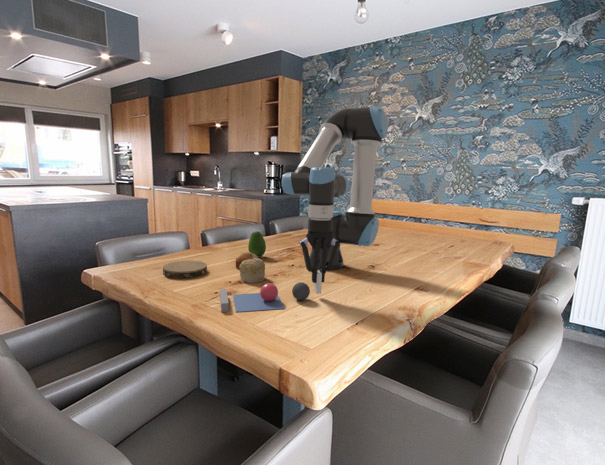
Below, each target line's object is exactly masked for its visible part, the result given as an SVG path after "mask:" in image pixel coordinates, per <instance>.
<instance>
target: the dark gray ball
mask: <svg viewBox="0 0 605 465" xmlns="http://www.w3.org/2000/svg"><path fill="white" fill-rule="evenodd" d="M310 293H311V290H310V286H309V285H308V284H307V283H305V282H296V283H295V284H294V285H293V287H292V296H293V298H295V299H296V300H298V301H305V300H306V299H307V298H309V296H310Z"/></svg>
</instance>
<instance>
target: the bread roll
mask: <svg viewBox="0 0 605 465" xmlns="http://www.w3.org/2000/svg"><path fill="white" fill-rule="evenodd" d="M254 258H259V257H257V256H256V255H255V254H253V253H250V252H249V251H246V252H241V254H239V255H238V256H237V257H236V258H235V262H234V264H235V268H236V269H238V270H240V269H239V266H240V264H241V263H242V262H243V261H245V260H247V259H254Z"/></svg>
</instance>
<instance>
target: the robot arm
mask: <svg viewBox="0 0 605 465" xmlns="http://www.w3.org/2000/svg"><path fill="white" fill-rule="evenodd" d="M387 134H388V120H387V115H386V112H385V110H384V109H383V108H382V107H380V106H379V107H378V106H377V107H374V106H370V107H368V106H367V107H357V108H356V107H353V108H349V107H348V108H342V109H340V110H338V111H336V112H334V113H333V114H331V115H330V116H329V117H328V118H327V119H326V120H325V121H324V122H323V123H322V124H321V126H320V127H319V129H318V135H317V136H316V138H315V140H314V141H313V143H312V145H311V146H310V148H308V151H307V152H306V154H305V155H304V157H303V158H302V160H300V163H299V164H298V166H297V168H296V169H295V170H294V172H292V171H290V172H286V173H284V174H283V175H282V177H281V178H282V179H281V188H282V191H283V192H284V193H285V194H286V195H291V196H308V217H309V218H308V221H307V233H306V236H305V238H303V239H301V240H299V241H298V244H299V246H300V247H301V249H302V254H303V259H304V260H303V261H304V264H305V268H306V270H307V271H308V272H310V273H311V282H312V283H313V284H314V287H313V291H314V293H316V294H317V295H321V294H322V283H324V282H325V279H326V278H325V276H326V273H327V272H330V271H331V270H332V271H333V270H340V269H342V268H343V267H344V257H343V255H342V251H341V244H342V245H344V244H346V245H354V246H359V247H370V246H371V245H373V244H374V242H375V240H376V239H377V238H376V237H377V236H378V235H377V234H378V232H379V225H380V224H379V219H378V218H377V217H376V213H375V211H374V210H373V209H372V208H373V206H372V204H373V196H374V195H373V193H374V186H375V185H374V183H375V182H374V181H375V172H376V161H377V160H376V159H377V150H378V148H379V146H380V145H381V144H382V140H384V139H385V138H387V136H388V135H387ZM345 139H346V140H347V139H348V140H349V139H351V144H352V145H353V147H354V152H353V153H354V154H353V166H352V177H351V178H352V180H351V188H350V181H349V180H348V178H347V177H346V176H345V175H343V174H340V173H336V170H335V168H333V167H323V166H324V165H325V163H326V161H328V158H329V156H330V154H331V153H332V152H333V149H334V148H335V147H336V145H338V144H340V143H341V141H342V140H345ZM349 189H351V190H350V204H349V208H348V209H346V210H345V215H344V214H343V213H342V211H341V210H339V211H338V210H334V202H335V201H334V200H335V198H340V197H343V196H344V195H346V194H347V193H348V192H349ZM308 243H309V244H310V246H311V250H310V253H309V248H308V246H309V244H308Z"/></svg>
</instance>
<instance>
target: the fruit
mask: <svg viewBox="0 0 605 465" xmlns="http://www.w3.org/2000/svg"><path fill="white" fill-rule="evenodd" d="M266 244H267V243H266V240H265V238H264V235H263V234H262V232H260V231H258V230H257V231H253V232H251V234H250V236H249V240H248V244H247V245H248V246H247V247H248V252H250V253H253V254H255V255H256V256H257V257H258V258H261V257H263V256H264V254H265V253H266V249H267V245H266Z"/></svg>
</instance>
